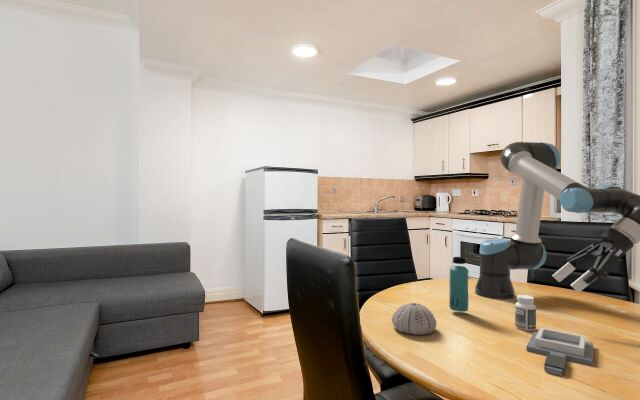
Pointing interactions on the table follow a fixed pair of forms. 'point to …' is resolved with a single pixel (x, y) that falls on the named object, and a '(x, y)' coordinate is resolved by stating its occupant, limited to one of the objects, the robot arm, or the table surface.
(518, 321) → the pill bottle
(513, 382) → the table surface
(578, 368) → the table surface
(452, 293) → the beverage bottle
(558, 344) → the holder
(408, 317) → the sea urchin shell
